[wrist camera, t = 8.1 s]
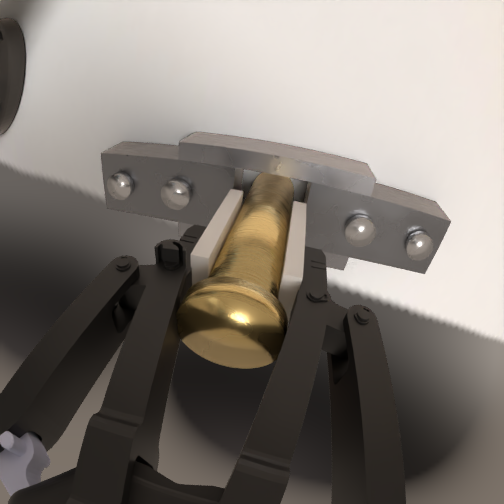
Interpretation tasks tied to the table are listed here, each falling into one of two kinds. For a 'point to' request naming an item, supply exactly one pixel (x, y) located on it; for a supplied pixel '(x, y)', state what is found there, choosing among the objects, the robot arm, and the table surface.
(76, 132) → the table surface
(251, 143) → the bolted stepped base
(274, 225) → the pin
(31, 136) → the table surface
